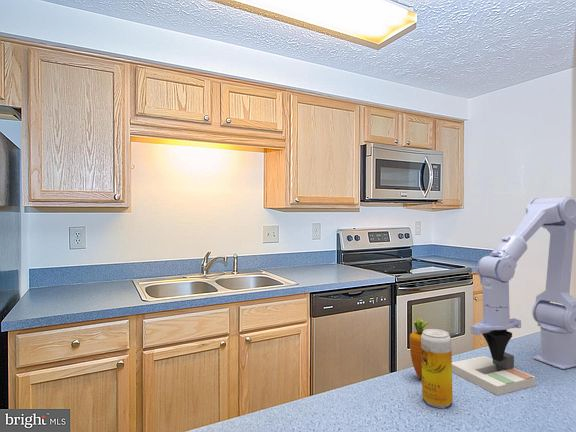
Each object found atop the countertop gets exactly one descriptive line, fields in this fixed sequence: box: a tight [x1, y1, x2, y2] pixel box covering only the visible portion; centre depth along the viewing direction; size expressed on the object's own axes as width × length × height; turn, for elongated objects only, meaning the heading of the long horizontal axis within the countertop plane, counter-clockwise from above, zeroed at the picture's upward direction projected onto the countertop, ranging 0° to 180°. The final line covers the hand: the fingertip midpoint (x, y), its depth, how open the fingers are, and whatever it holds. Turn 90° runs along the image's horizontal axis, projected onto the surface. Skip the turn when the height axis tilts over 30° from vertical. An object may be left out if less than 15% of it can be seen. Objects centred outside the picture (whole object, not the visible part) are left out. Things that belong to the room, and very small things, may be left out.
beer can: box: [421, 328, 454, 409], centre depth 79 cm, size 6×6×15 cm
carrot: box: [408, 317, 429, 380], centre depth 90 cm, size 5×5×15 cm
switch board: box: [452, 355, 537, 396], centre depth 90 cm, size 12×14×2 cm
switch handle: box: [493, 351, 515, 371], centre depth 91 cm, size 2×4×5 cm, turn 20°
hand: (497, 359), depth 91 cm, fingers closed
